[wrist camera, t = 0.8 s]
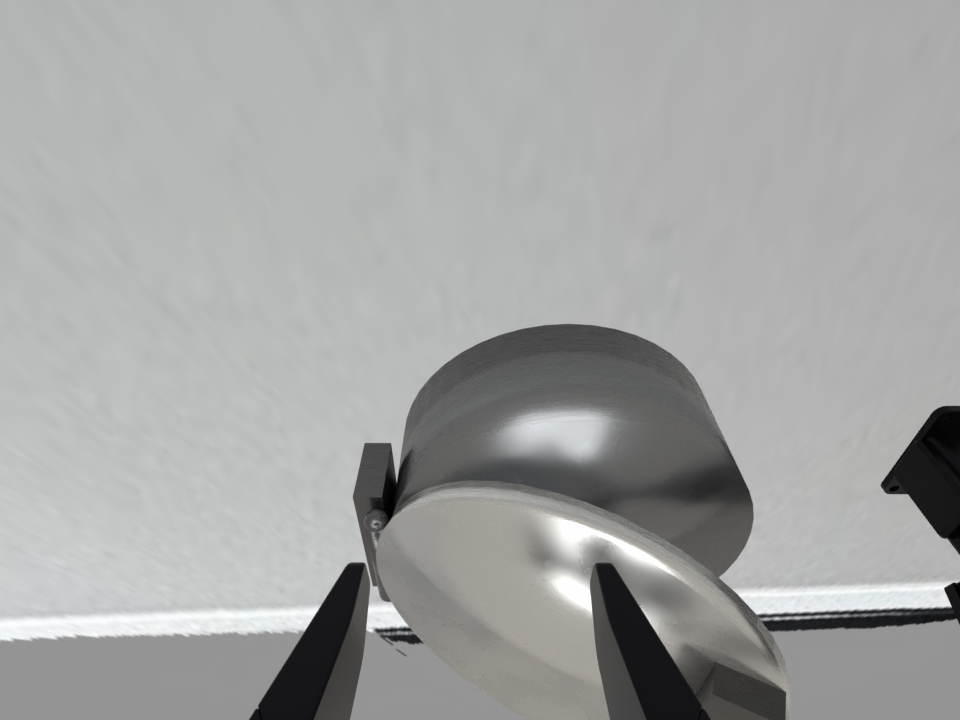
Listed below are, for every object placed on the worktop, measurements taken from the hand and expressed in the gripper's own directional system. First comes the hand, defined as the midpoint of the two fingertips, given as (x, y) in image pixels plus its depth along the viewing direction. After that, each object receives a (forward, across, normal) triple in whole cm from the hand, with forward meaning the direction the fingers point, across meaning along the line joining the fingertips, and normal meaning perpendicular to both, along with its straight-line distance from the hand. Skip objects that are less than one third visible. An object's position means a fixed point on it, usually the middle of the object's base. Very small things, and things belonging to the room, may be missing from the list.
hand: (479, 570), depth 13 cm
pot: (+13, -4, +10) cm, 17 cm away
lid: (+4, -3, +10) cm, 11 cm away
